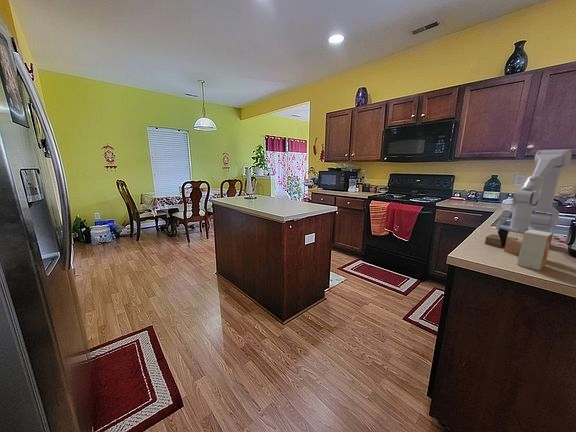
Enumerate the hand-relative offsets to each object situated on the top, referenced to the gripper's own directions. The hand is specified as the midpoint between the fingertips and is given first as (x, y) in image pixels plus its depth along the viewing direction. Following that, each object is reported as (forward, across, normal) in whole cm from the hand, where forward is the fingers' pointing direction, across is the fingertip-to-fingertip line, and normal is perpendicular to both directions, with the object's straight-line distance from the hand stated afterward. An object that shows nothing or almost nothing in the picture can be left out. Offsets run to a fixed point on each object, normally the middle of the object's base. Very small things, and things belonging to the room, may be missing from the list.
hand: (514, 248), depth 103 cm
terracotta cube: (+2, 0, 0) cm, 2 cm away
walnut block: (+2, -7, +7) cm, 10 cm away
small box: (+2, +9, -13) cm, 16 cm away
